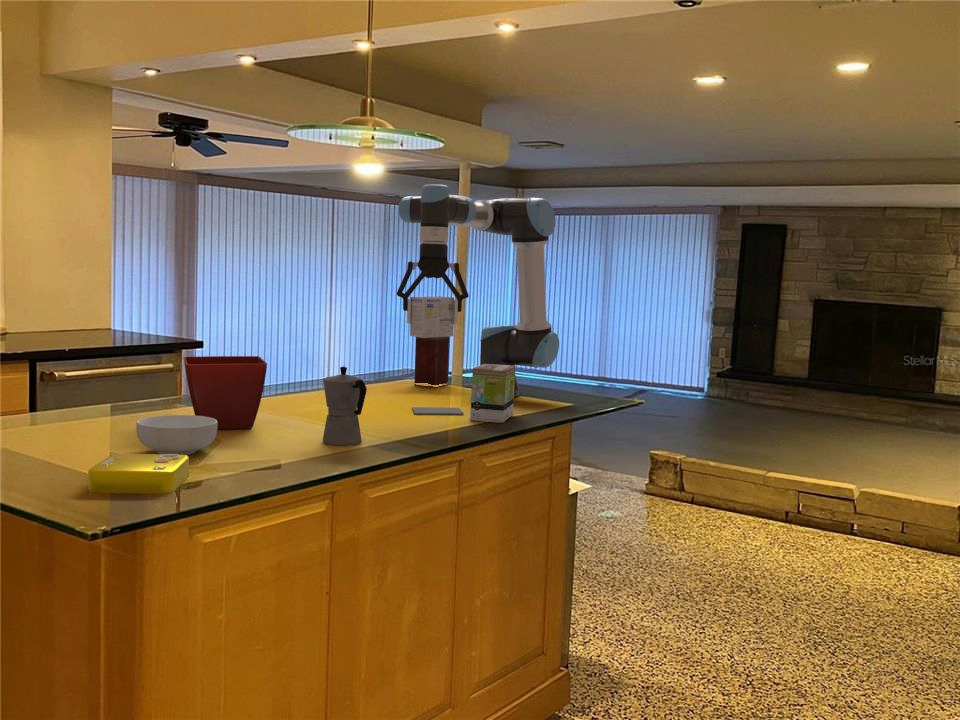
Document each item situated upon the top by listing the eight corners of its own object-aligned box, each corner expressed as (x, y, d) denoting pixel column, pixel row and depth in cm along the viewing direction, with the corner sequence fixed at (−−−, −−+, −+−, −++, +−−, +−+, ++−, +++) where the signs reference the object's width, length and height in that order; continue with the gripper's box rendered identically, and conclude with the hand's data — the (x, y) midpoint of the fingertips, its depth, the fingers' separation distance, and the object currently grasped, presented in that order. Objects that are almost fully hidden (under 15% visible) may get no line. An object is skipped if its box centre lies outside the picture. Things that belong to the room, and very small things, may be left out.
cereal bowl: (217, 459, 185) (217, 426, 185) (132, 462, 181) (132, 428, 180) (217, 443, 201) (217, 413, 201) (139, 445, 197) (139, 414, 196)
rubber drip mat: (411, 408, 259) (411, 407, 259) (458, 409, 261) (458, 407, 261) (414, 414, 249) (414, 412, 249) (463, 415, 252) (463, 413, 251)
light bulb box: (438, 334, 245) (439, 295, 244) (454, 336, 240) (455, 297, 239) (408, 336, 237) (409, 296, 236) (424, 338, 233) (425, 297, 231)
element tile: (112, 475, 171) (112, 450, 170) (191, 476, 172) (191, 452, 172) (84, 494, 156) (84, 468, 156) (171, 496, 157) (171, 469, 157)
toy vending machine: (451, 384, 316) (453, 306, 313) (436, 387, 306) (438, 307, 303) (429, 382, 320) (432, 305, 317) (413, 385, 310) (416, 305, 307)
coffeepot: (309, 439, 209) (310, 364, 207) (342, 435, 215) (344, 362, 214) (346, 451, 198) (348, 371, 196) (380, 446, 204) (382, 369, 202)
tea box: (505, 423, 240) (507, 370, 239) (469, 421, 242) (470, 367, 241) (514, 415, 255) (516, 364, 253) (480, 412, 257) (481, 362, 255)
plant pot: (183, 419, 229) (183, 355, 227) (258, 418, 236) (259, 355, 234) (185, 433, 211) (185, 364, 209) (267, 431, 218) (267, 363, 216)
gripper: (389, 241, 230) (387, 323, 233) (480, 244, 234) (478, 325, 237) (387, 241, 238) (386, 321, 240) (476, 245, 242) (473, 323, 244)
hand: (431, 323), depth 238 cm, fingers closed on light bulb box, 12 cm apart
